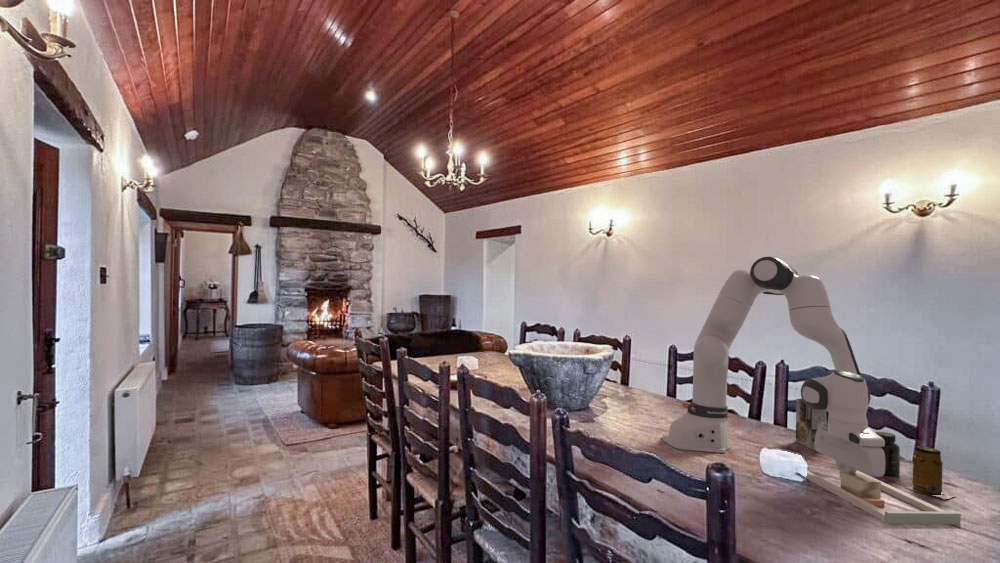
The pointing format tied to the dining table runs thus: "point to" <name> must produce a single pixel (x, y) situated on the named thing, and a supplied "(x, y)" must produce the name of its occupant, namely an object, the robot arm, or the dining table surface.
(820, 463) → the dining table surface
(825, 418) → the coffee box
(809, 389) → the robot arm
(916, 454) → the condiment
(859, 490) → the oak block
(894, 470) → the supplement bottle
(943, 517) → the frame
